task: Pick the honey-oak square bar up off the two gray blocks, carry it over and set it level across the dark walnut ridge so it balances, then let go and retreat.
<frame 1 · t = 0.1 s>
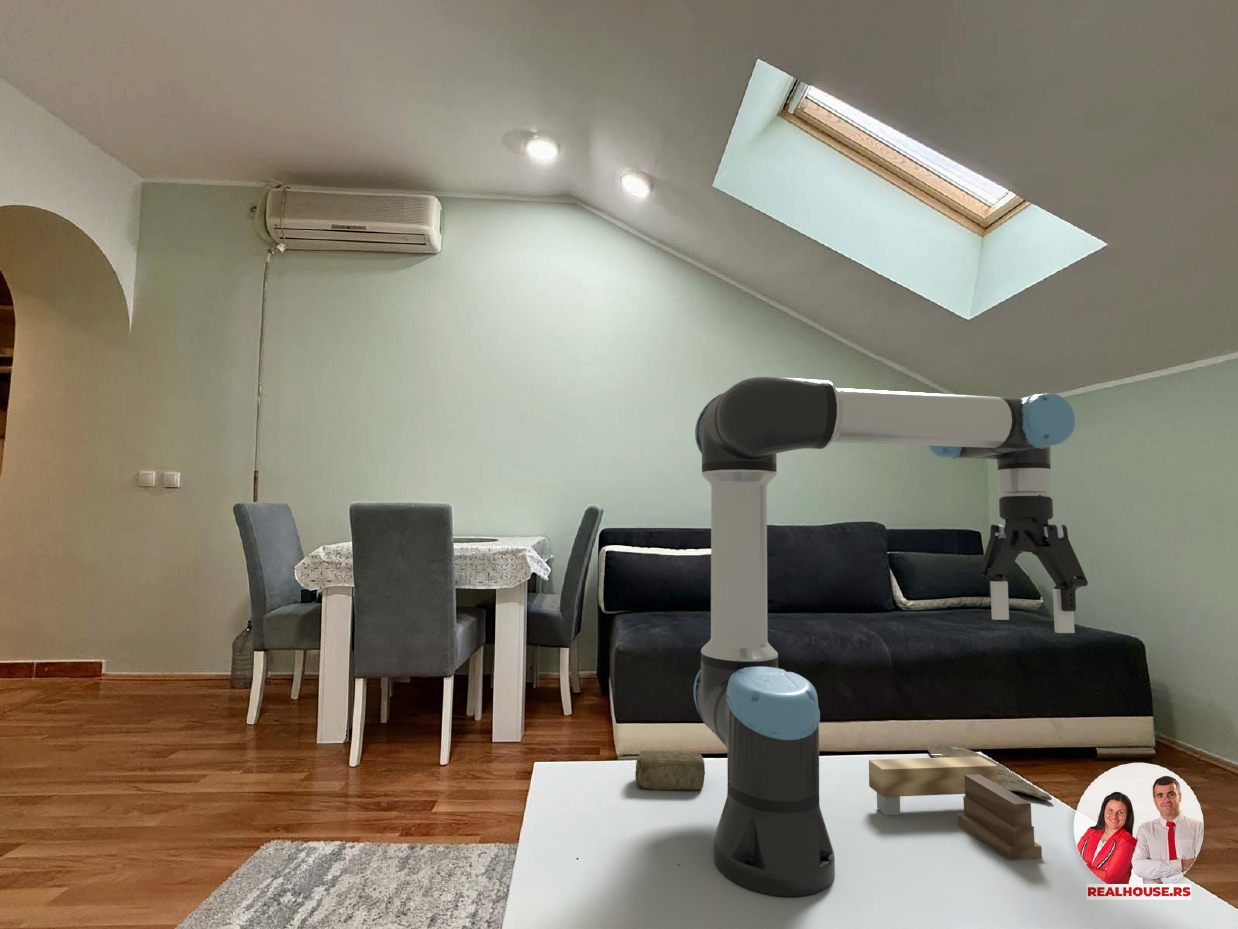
hand: (1030, 625, 104), 28 cm above the table, fingers open, 13 cm apart
stone block: (669, 786, 107), on the table
gray blocks: (933, 809, 99), on the table
stone tool: (977, 777, 114), on the table
oak bar: (933, 789, 99), point 3 cm above the table, touching gray blocks
ridge: (997, 840, 89), on the table
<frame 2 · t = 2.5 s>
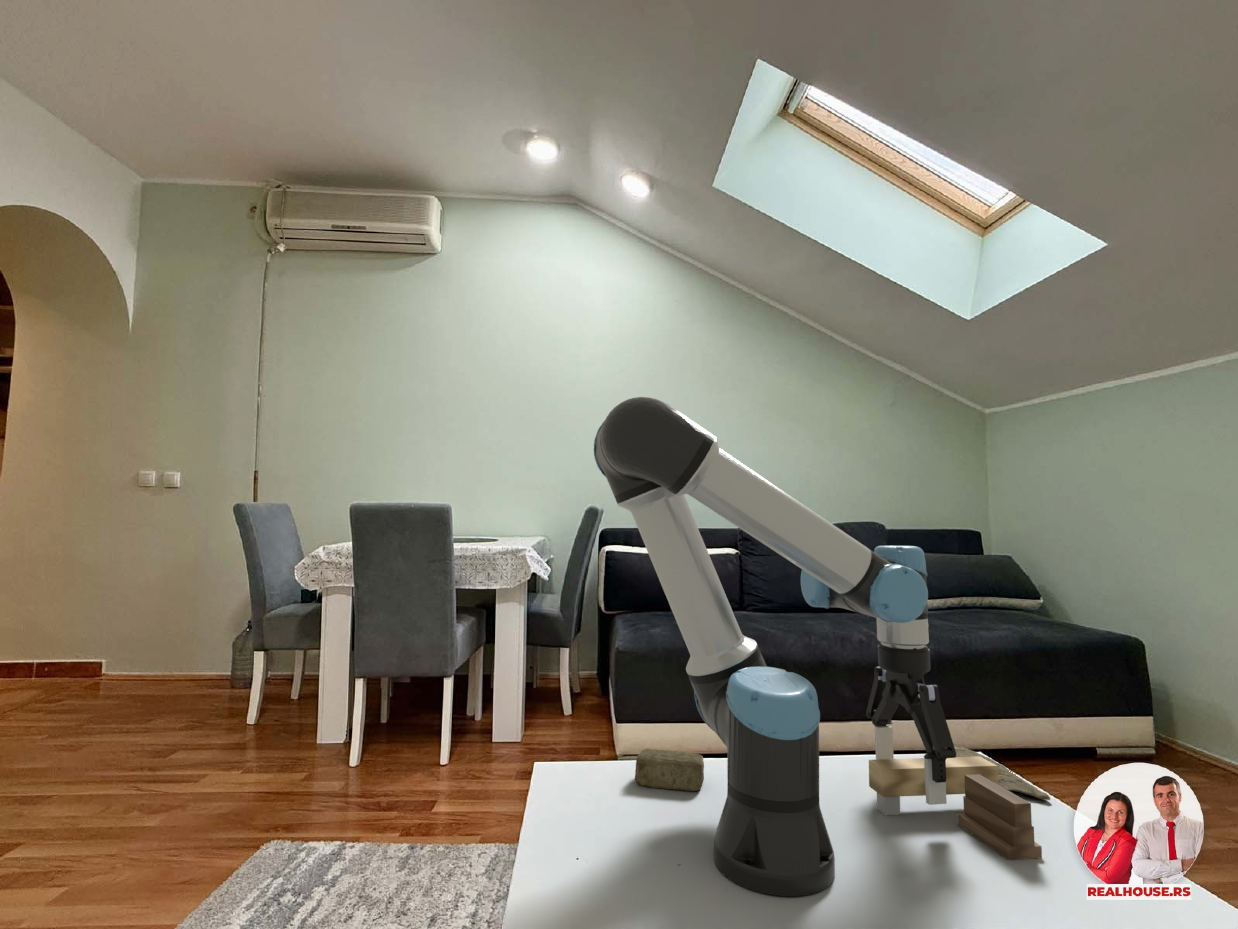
hand: (908, 784, 99), 4 cm above the table, fingers open, 13 cm apart
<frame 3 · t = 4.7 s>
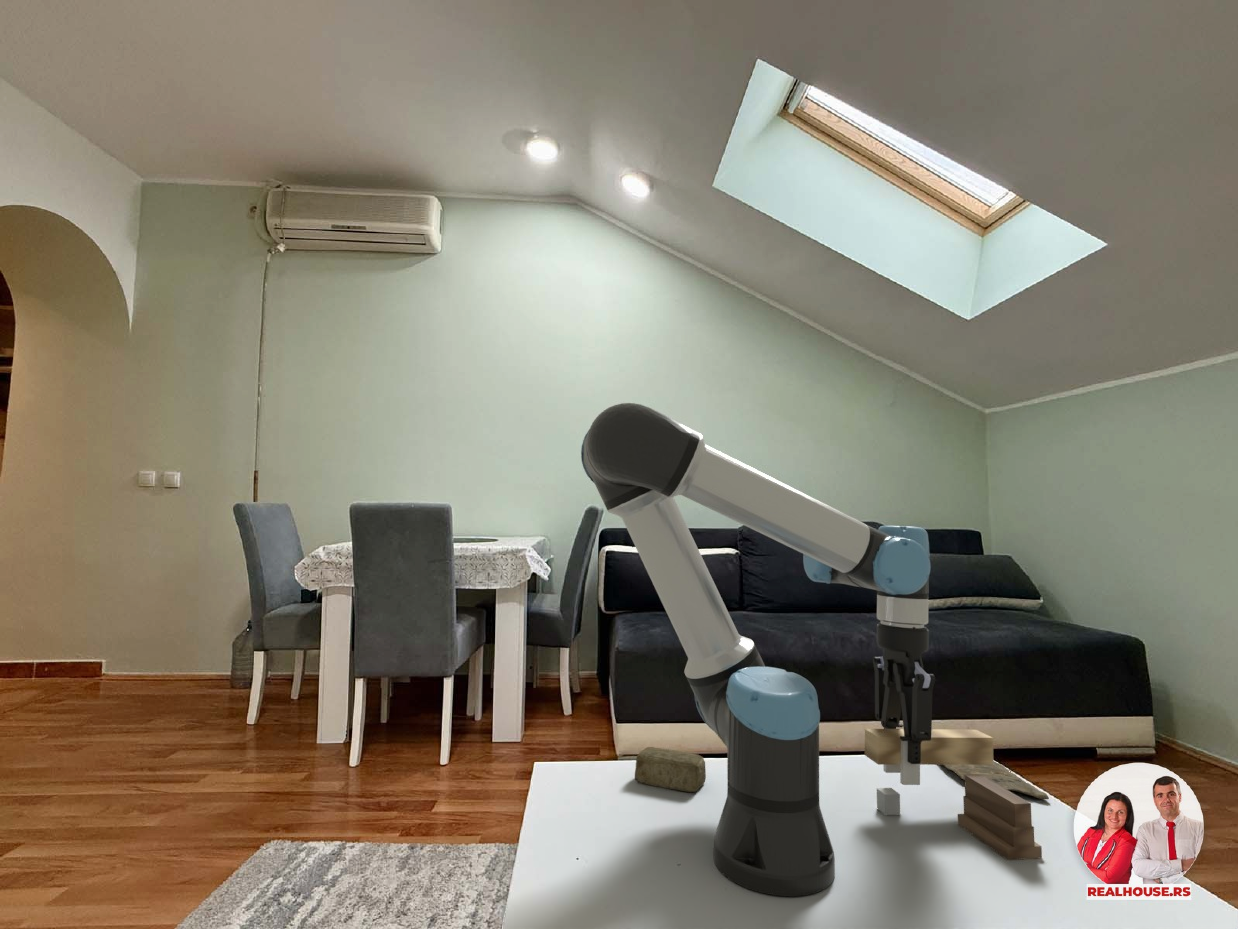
hand: (901, 777, 99), 5 cm above the table, fingers closed on oak bar, 4 cm apart
oak bar: (928, 759, 99), point 7 cm above the table, touching gripper
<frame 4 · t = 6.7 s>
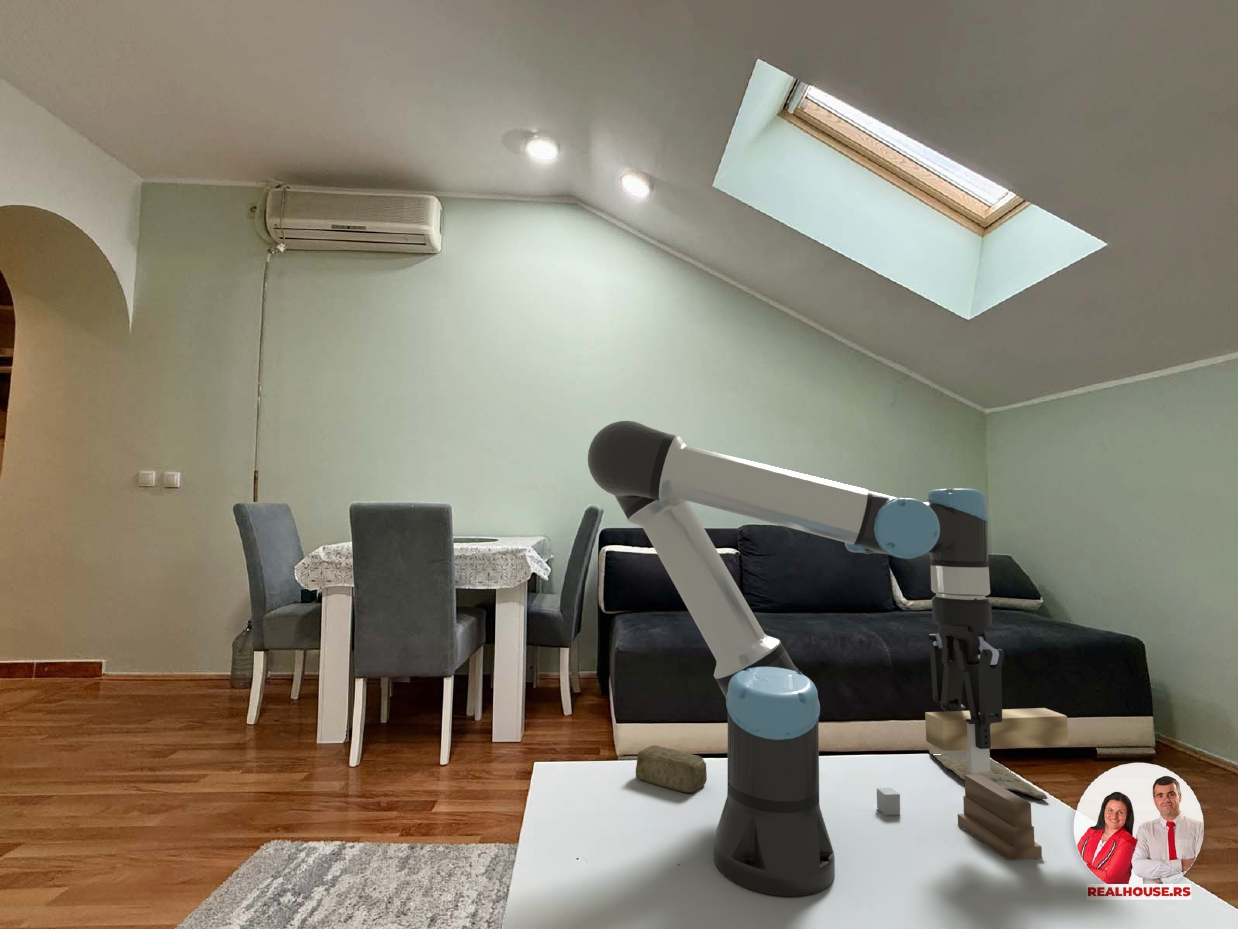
hand: (967, 764, 90), 10 cm above the table, fingers closed on oak bar, 4 cm apart
oak bar: (996, 743, 91), point 13 cm above the table, touching gripper
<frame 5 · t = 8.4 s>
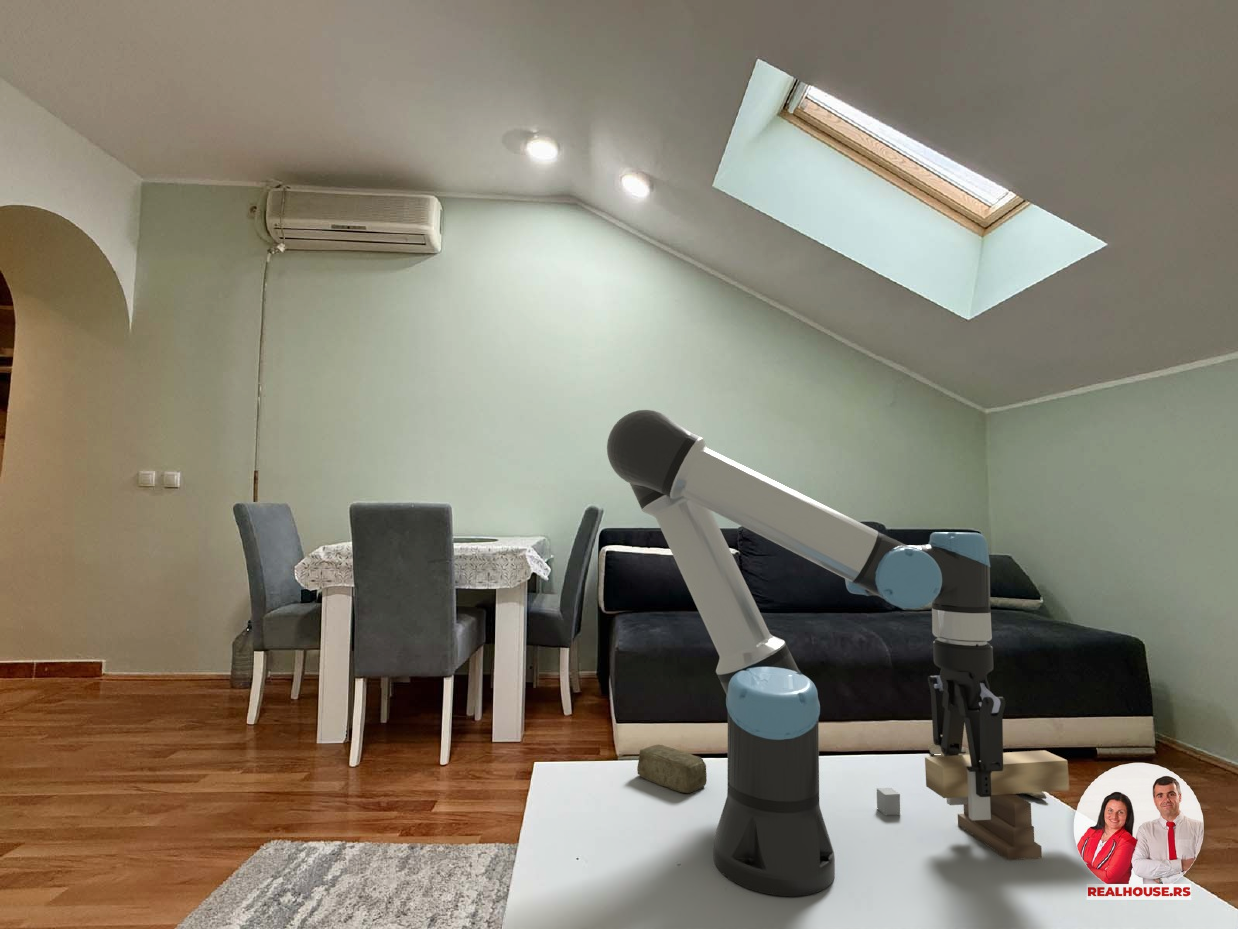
hand: (968, 810, 89), 4 cm above the table, fingers closed on oak bar, 4 cm apart
oak bar: (997, 788, 90), point 7 cm above the table, touching gripper, ridge
when the fingers open (4 cm above the table, at t = 8.8 s): oak bar stays where it is, resting on ridge.
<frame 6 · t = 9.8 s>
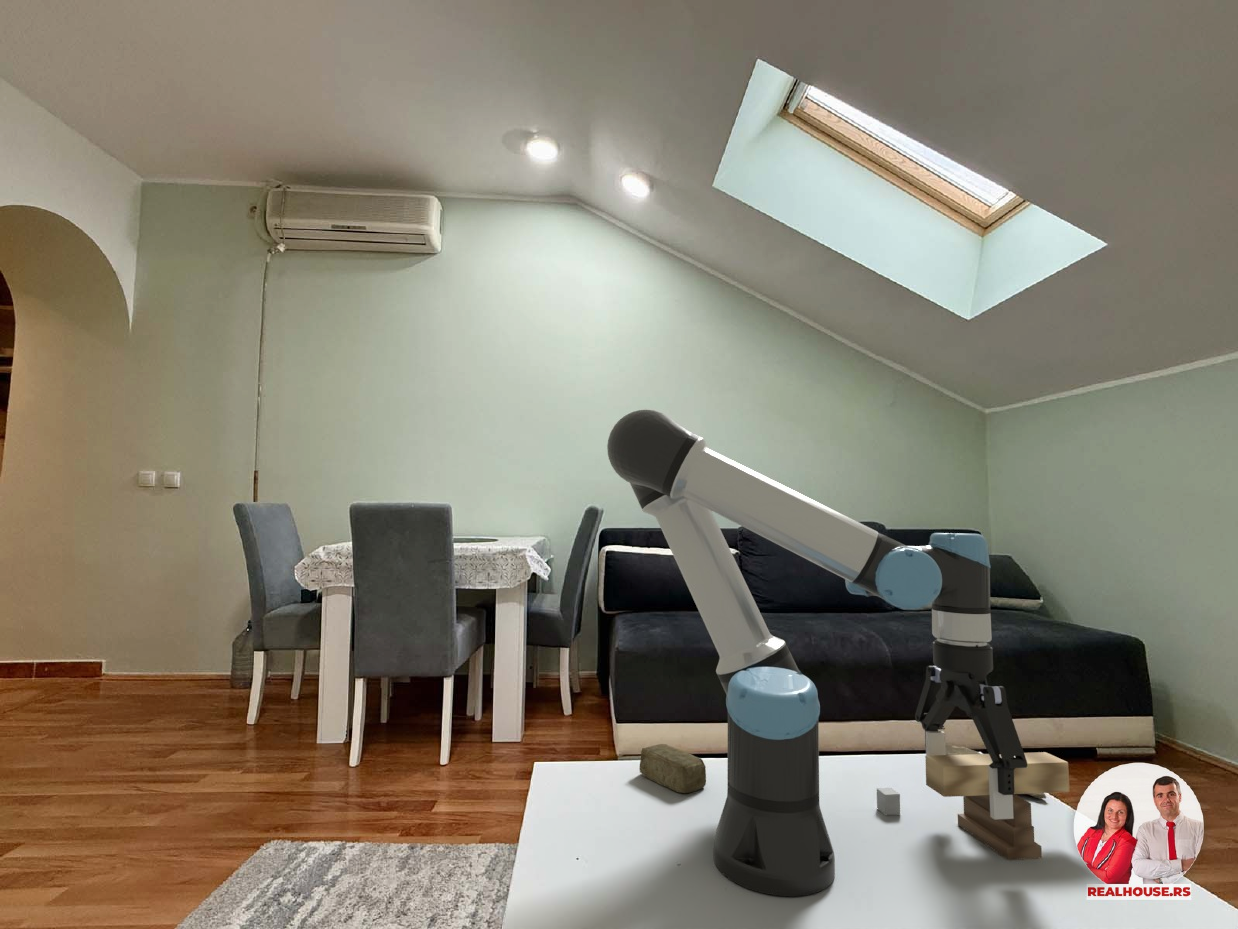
hand: (966, 796, 89), 6 cm above the table, fingers open, 13 cm apart
oak bar: (997, 788, 90), point 7 cm above the table, touching ridge
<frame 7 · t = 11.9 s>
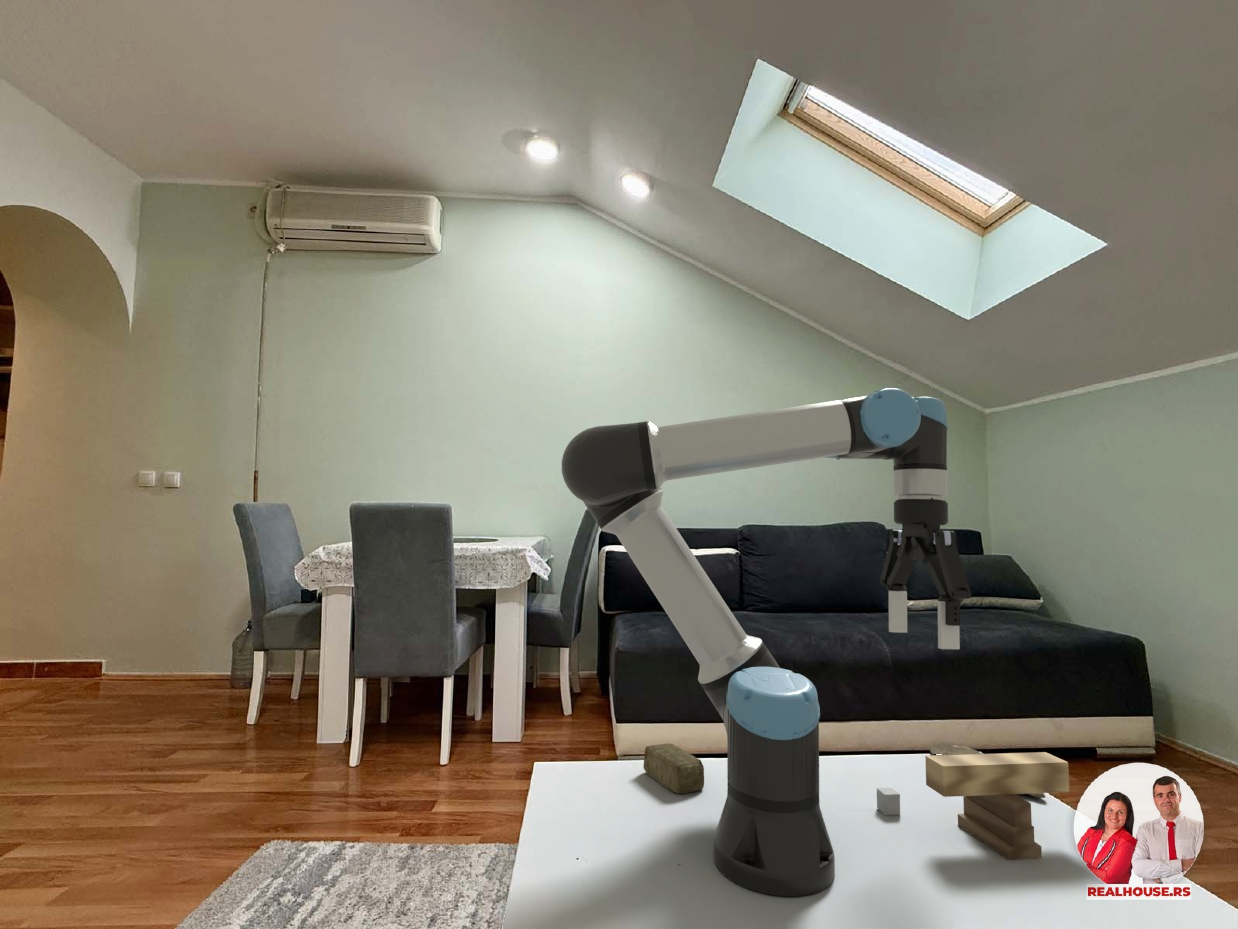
hand: (921, 640, 96), 27 cm above the table, fingers open, 13 cm apart
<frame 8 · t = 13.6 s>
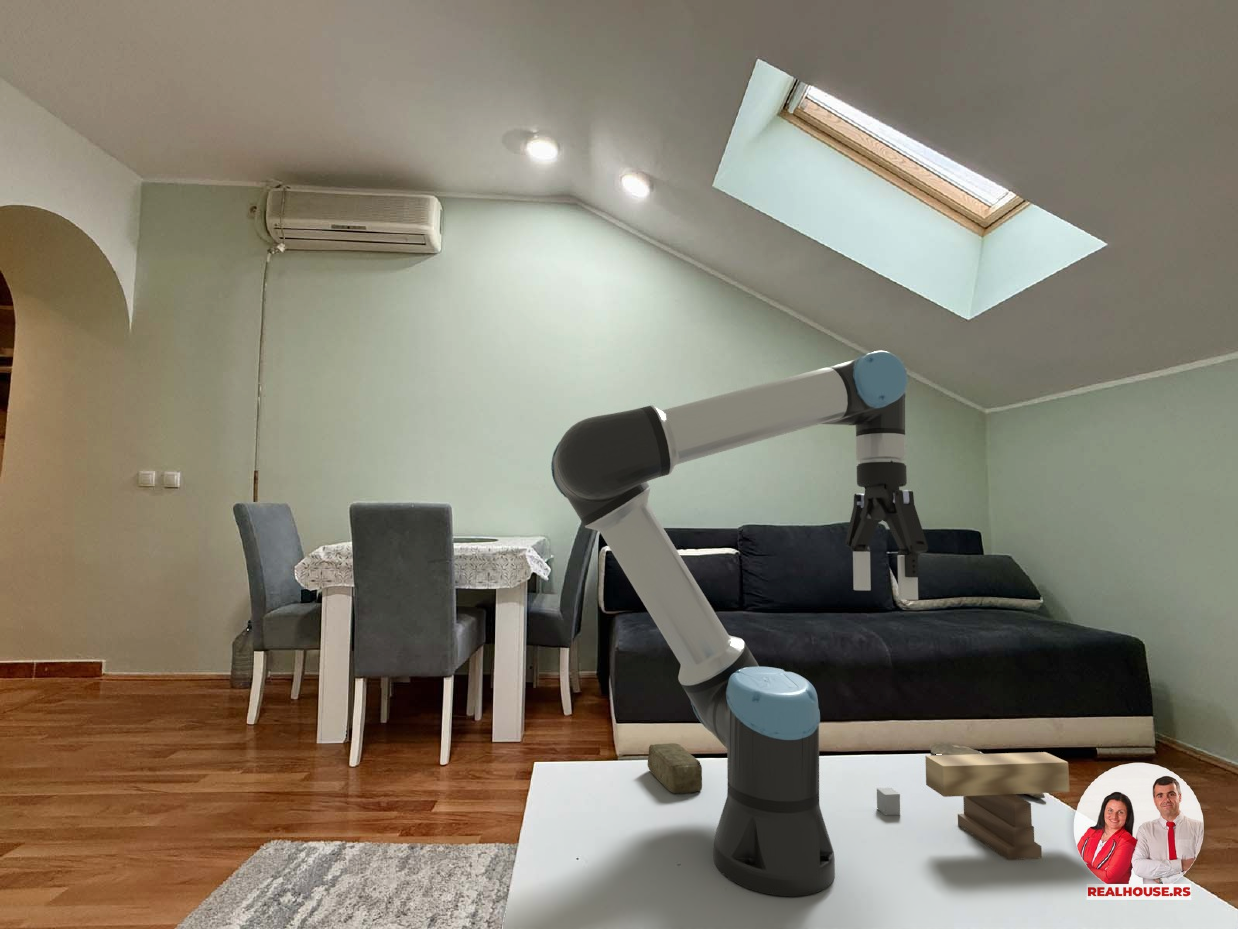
hand: (883, 594, 102), 33 cm above the table, fingers open, 13 cm apart
at the end: oak bar 0.2 cm off-centre on the ridge, point 7.0 cm above the ridge's base; oak bar tilted 0°; oak bar touching ridge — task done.
